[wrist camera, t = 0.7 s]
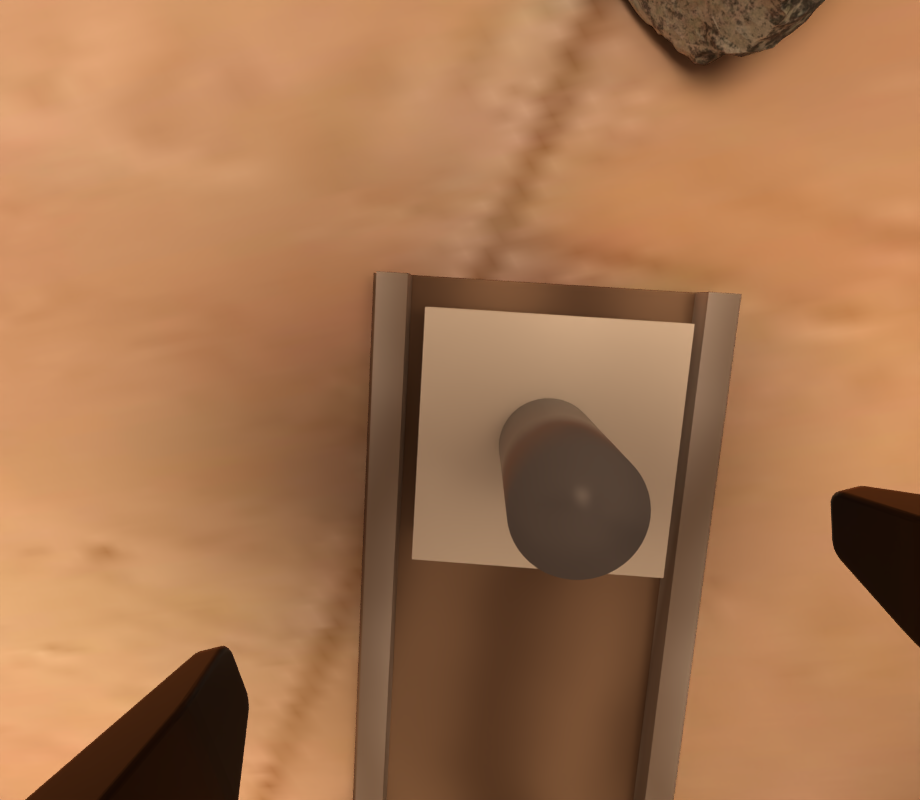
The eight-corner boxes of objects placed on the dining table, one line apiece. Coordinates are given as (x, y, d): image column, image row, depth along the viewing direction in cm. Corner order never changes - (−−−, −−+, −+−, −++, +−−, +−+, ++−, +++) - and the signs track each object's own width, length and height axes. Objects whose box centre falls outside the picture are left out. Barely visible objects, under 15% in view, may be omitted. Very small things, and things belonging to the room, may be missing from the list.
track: (717, 295, 21) (751, 294, 19) (635, 939, 26) (653, 1012, 23) (381, 275, 22) (367, 270, 19) (354, 913, 26) (340, 983, 23)
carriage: (673, 322, 20) (801, 333, 12) (646, 552, 21) (745, 701, 13) (430, 306, 20) (397, 307, 12) (418, 535, 21) (380, 672, 13)
